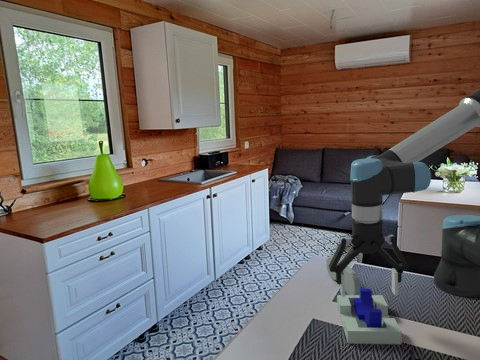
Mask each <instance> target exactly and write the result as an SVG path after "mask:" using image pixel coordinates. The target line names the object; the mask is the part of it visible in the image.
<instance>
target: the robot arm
mask: <svg viewBox="0 0 480 360" xmlns="http://www.w3.org/2000/svg"><path fill="white" fill-rule="evenodd" d="M475 127H477V128H480V88H479V89H477V90H475V91H474V92H471V93H470V94H468V95H467V96H465V97H463V99H461V100H460V101H459V104H458V106H456V107H454V108H453V109H451V110H450V111H448V112H446V113H445V114H443V115H441V116H440V117H438V118H437V119H435V120H434V121H432V122H431V123H429V124H428V125H426V126H424V127H423V128H421V129H419V130H418V131H416V132H415V133H413V134H411V135H409V136H408V137H407V138H405V139H404V140H402V141H400V142H399V143H397V144H396V145H394V146H392V147H390V149H387V150H386V151H384V152H383V153H381V154H379V155H369V156H367V157H366V158H360V159H359V158H358V159H355V160H353V161H352V163H350V164H351V166H350V178H349V181H350V191H351V218H352V219H351V230H352V231H351V232H352V235H351V237H345V236H344V235H341V236H340V237H339V244H338V246H337V248H336V249H335V252H334V254H333V255H334V256H333V258H332V260H331V262H330V264H329V269H330V272H335V273H336V280H335V281H336V284H337V285H340V288H339V289H340V291H339V292H340V295H342V297H345V295H346V291H345V281H344V272H343V270H344V269H345V268H346V267H347V266H349V265H350V264H351V262H352V261H353V260H354V259H355V258H356V257H359V254H362V255H366V254H367V255H368V254H370V255H373V254H375V253H377V252H378V253H379V254H380V255H381V256H382V258H384V259H385V260H386V261H387V262H388V263H389V264H390V266H392V268H391V292H392V293H393V295H394V296H395V297H397V296H398V295H399V287H398V286H399V283H402V281H403V280H402V275H403V273H404V271H408V270H409V269H410V266H409V264H408V262H407V260H406V259H405V256H404V255H403V253H402V251H401V250H400V248H399V246H398V244H397V237H396V236H395V235H394V234H393V233H389V234H388V235H384V226H383V225H384V224H383V222H384V221H383V220H382V219H383V217H384V216H383V215H384V214H383V213H384V212H383V211H384V210H383V203H384V202H383V199H384V196H389V195H397V194H409V193H416V192H421V191H426V190H427V189H428V188H429V187H430V185H431V183H432V174H431V170H430V167H428V165H427V164H426V163H425V162H422V160H423V159H425V158H427V157H428V156H430V155H432V154H433V153H435V152H437V151H438V150H440V149H441V148H443V147H444V146H446V145H448V144H449V143H452V142H453V141H454V140H456V139H458V138H459V137H461V136H463V135H464V134H466V133H468V132H469V131H471V130H472V129H474V128H475ZM442 222H443V223H442V228H441V230H442V232H441V257H440V261H439V263H438V265H437V268H436V270H435V272H434V274H433V283H434V285H435V286H436V287H437V288H439V289H440V290H441V291H443V292H446V293H448V294H451V295H455V296H458V297H464V298H480V215H474V214H472V215H471V214H453V215H448V216H446V217H445V218H444V219H443V221H442ZM384 243H387V244H388V245H390V247H391V248H392V250H393V252H394V253H395V256H396V258H397V259H398V260H399V262H400V263H398V262H396V260H395V259H393V257H392V256H391V255H390V254H389V253H388V251H386V250H385V249H384V248H383V247H382V246H383V245H384ZM349 244H351V245H352V247H350V250H349V251H348V252H347V253H346V255H344V257H343V258H342V256H343V254H344V252H345V251H346V247H347V246H349ZM339 260H341V261H340V263H339V264H338V262H339ZM337 264H338V265H337Z"/></svg>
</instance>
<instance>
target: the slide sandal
mask: <svg viewBox="0 0 480 360" xmlns="http://www.w3.org/2000/svg"><path fill="white" fill-rule="evenodd" d="M333 256H334V254H333V255H332V254H331V255H330V256H328V257H327V259H326V264H325V265H326V271H327V273H328V276H329V277H330V279H331V280H333V281H336V273H335V272H330V269H329V264H330V262H331V260H332V258H333ZM341 260H342V259H340V260H339V262H338V264H339V263H340V261H341ZM338 264H337V265H338ZM343 272H344V281H345V293H346V295H360V289H362V287H361V281H360V278H359V276H358V274H357V273H356V271H355V270H353V269H352V268H351V267H350V266H349V265H348V266H347V267H346V268H345V269H344V270H343Z"/></svg>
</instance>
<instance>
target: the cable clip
mask: <svg viewBox="0 0 480 360" xmlns="http://www.w3.org/2000/svg"><path fill="white" fill-rule="evenodd" d="M359 295H360V298H354V308H355V311H356V314H357V316H358V319H364V320H365V323H366V326H367V328H382V312H381V310H380V309H374V308H373V302H372V295H373V291H372V289H371V288H361V289H360V294H359Z"/></svg>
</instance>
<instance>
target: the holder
mask: <svg viewBox="0 0 480 360" xmlns="http://www.w3.org/2000/svg"><path fill="white" fill-rule="evenodd" d="M336 295H337V296H336V306H337V309H338V314H339V317H340V320H341V325H342V329H343V331H344V334H345V337H346V342H347V344H356V345H357V344H359V345H360V344H361V345H362V344H363V345H365V344H366V345H368V344H369V345H370V344H371V345H402V337H403V336H402V335H403V332H402V330H401V328H400V326H399V323H398V322H397V320H396V318H394V317H391V318H390V316H389V311H388V310H389V306H388V303H387V302H386V300H385V298H384V296H383V295H382V294H372V302H373V308H374V309H380V310H381V312H382V328H367V326H366V323H365V320H364V319H358V316H357V314H356V311H355V308H354V298H360V294H359V295H348V294H345V297H342V295H341V294H336Z"/></svg>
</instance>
